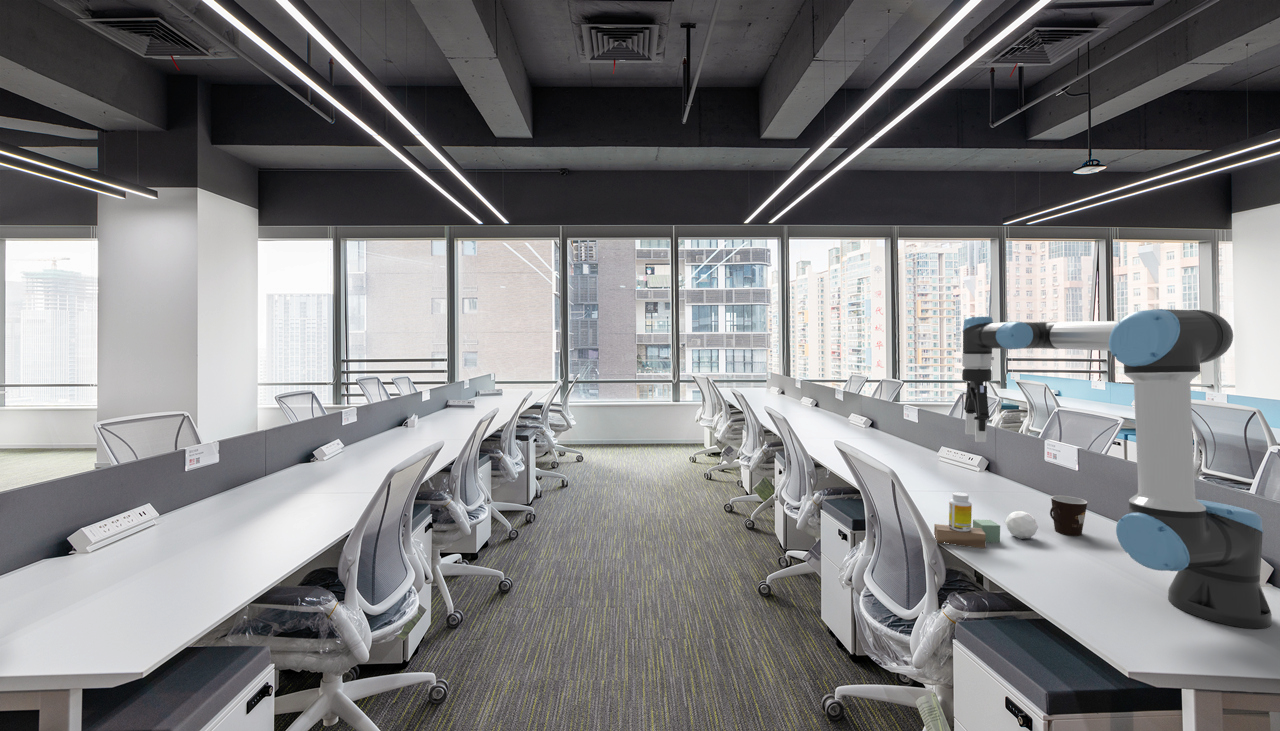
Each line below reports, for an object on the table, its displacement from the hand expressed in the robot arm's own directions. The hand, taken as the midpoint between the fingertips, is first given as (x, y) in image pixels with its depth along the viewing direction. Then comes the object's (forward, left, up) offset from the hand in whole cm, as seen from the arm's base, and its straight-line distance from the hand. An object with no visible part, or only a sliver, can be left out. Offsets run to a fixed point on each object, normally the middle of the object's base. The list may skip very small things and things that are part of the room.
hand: (975, 438), depth 164 cm
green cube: (-6, -2, -29) cm, 29 cm away
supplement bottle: (-12, +6, -25) cm, 28 cm away
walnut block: (-12, +6, -29) cm, 32 cm away
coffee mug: (+8, -25, -29) cm, 39 cm away
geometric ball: (-1, -12, -29) cm, 31 cm away
